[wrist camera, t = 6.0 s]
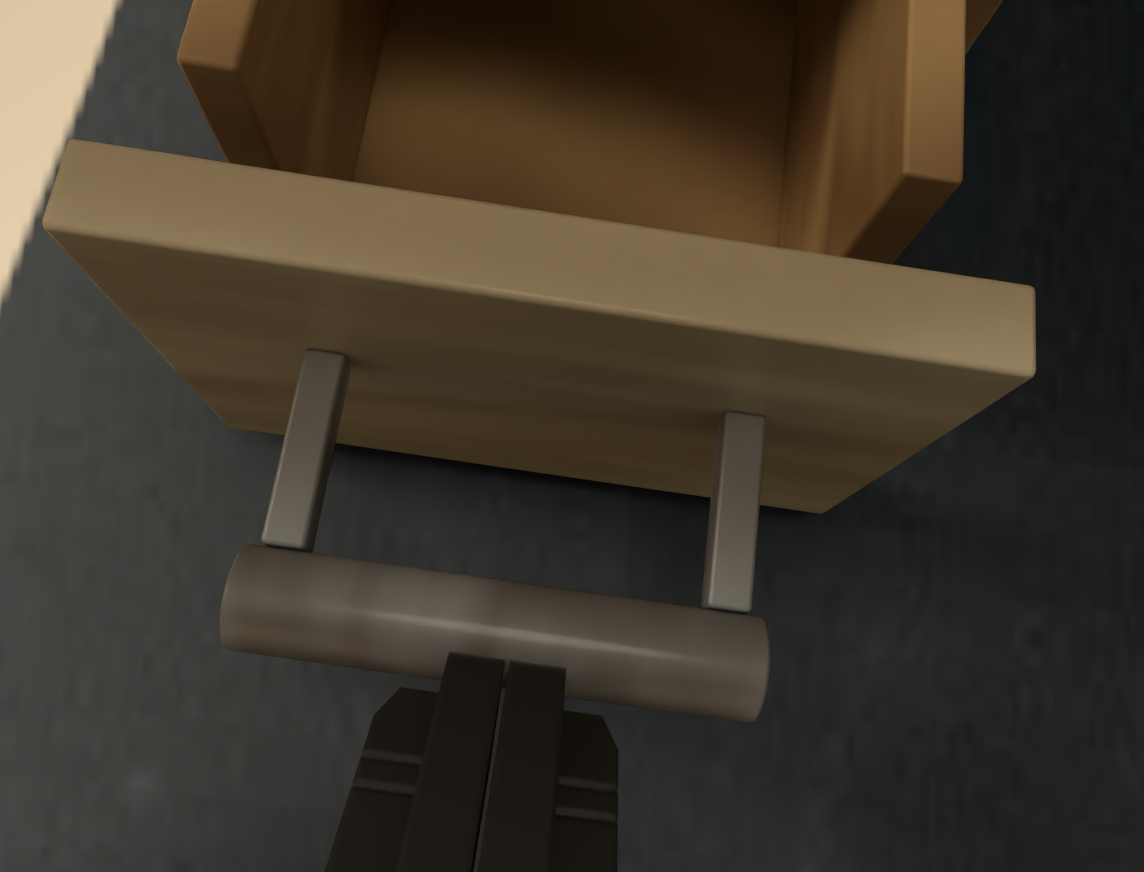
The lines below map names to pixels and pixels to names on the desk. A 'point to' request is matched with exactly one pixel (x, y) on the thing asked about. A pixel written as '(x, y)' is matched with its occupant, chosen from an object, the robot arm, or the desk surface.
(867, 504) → the desk surface
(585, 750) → the robot arm
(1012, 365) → the drawer
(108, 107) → the desk surface
